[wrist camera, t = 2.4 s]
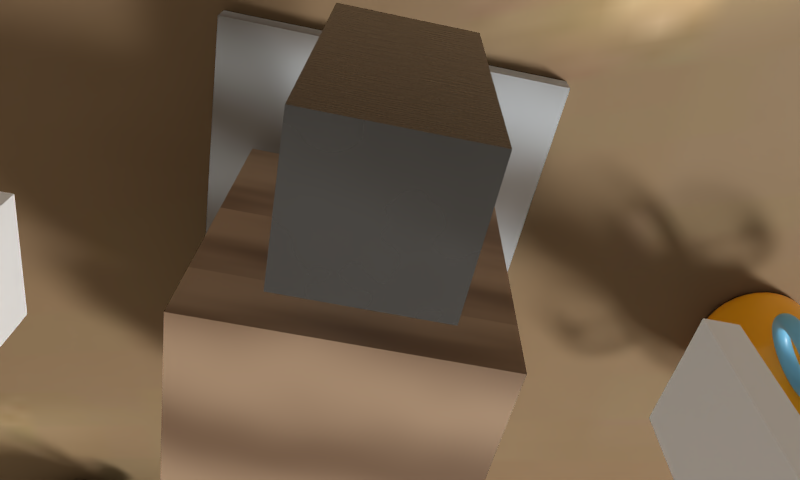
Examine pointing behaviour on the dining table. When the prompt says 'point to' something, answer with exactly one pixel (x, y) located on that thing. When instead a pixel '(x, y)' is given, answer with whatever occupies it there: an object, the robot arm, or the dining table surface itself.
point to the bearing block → (333, 312)
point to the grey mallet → (387, 168)
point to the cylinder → (770, 334)
